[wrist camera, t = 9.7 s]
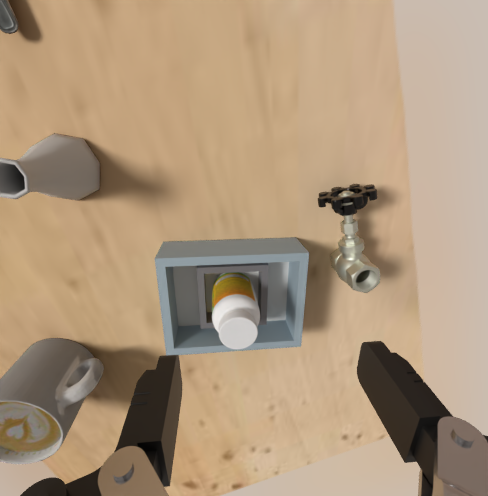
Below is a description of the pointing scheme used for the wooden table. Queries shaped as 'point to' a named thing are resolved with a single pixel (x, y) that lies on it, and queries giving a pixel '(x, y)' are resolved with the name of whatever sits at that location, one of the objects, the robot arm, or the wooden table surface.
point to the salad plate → (7, 18)
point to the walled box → (229, 261)
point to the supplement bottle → (235, 310)
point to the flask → (52, 170)
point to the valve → (351, 237)
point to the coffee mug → (44, 398)
